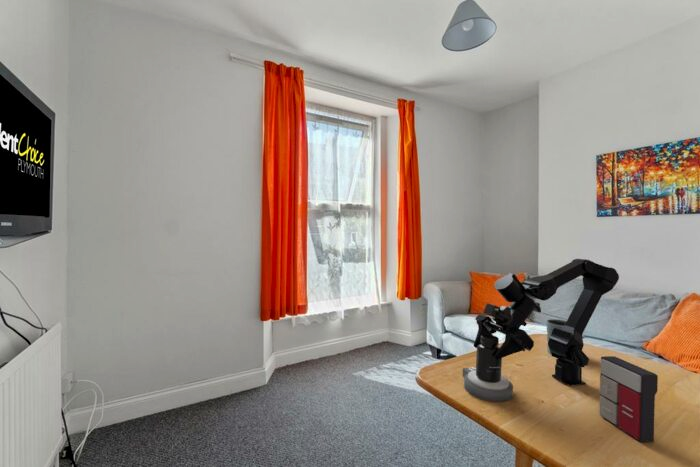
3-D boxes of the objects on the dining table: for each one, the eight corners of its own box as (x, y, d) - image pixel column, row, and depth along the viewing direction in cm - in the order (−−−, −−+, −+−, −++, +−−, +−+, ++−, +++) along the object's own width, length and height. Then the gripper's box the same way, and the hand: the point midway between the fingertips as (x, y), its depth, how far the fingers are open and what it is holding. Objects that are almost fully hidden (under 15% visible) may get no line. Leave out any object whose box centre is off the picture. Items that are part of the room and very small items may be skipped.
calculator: (596, 414, 82) (597, 355, 82) (612, 414, 82) (613, 355, 82) (638, 443, 71) (640, 375, 71) (656, 442, 71) (658, 374, 71)
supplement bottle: (494, 386, 89) (495, 342, 89) (471, 377, 94) (472, 336, 94) (505, 378, 93) (506, 337, 93) (482, 371, 98) (483, 331, 98)
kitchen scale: (489, 374, 104) (489, 363, 104) (523, 400, 88) (523, 387, 88) (451, 376, 102) (451, 365, 102) (479, 403, 86) (479, 390, 86)
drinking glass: (539, 349, 128) (540, 319, 128) (560, 348, 130) (561, 318, 130) (562, 359, 118) (562, 327, 118) (584, 357, 120) (584, 325, 120)
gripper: (481, 288, 104) (449, 324, 101) (525, 300, 86) (489, 345, 83) (501, 312, 106) (471, 348, 103) (549, 328, 87) (514, 373, 85)
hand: (484, 352), depth 93 cm, fingers open, 9 cm apart
